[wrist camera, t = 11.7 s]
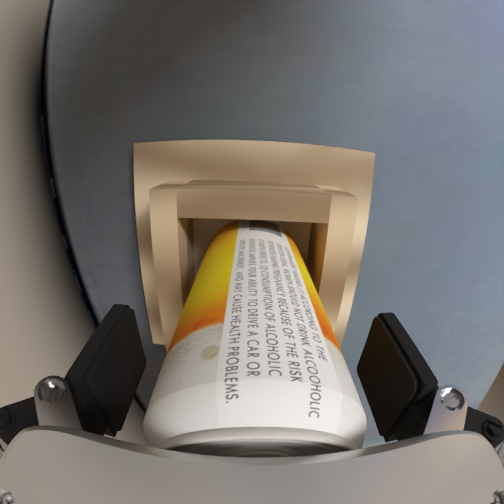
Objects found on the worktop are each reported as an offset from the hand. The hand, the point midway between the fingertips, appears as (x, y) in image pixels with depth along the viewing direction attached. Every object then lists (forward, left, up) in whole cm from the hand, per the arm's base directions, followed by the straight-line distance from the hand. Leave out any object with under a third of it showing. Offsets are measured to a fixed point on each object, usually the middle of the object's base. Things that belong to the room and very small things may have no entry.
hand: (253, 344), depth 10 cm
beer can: (0, 0, -10) cm, 10 cm away
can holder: (+1, 0, -11) cm, 10 cm away
